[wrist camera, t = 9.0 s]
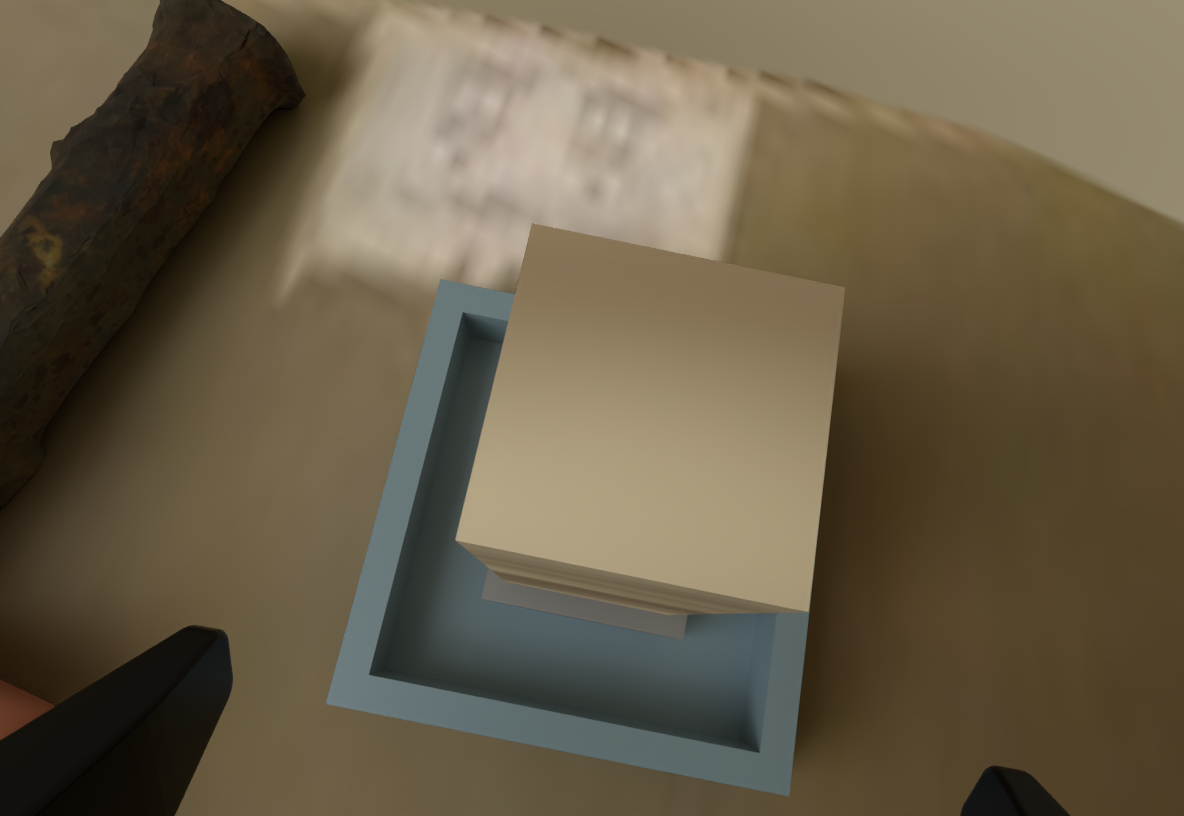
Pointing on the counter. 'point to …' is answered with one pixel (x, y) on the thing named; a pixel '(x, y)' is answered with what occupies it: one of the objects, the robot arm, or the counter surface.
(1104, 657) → the counter surface
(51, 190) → the hand tool
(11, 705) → the pottery
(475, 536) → the beige pillar on base
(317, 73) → the counter surface
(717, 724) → the tray
